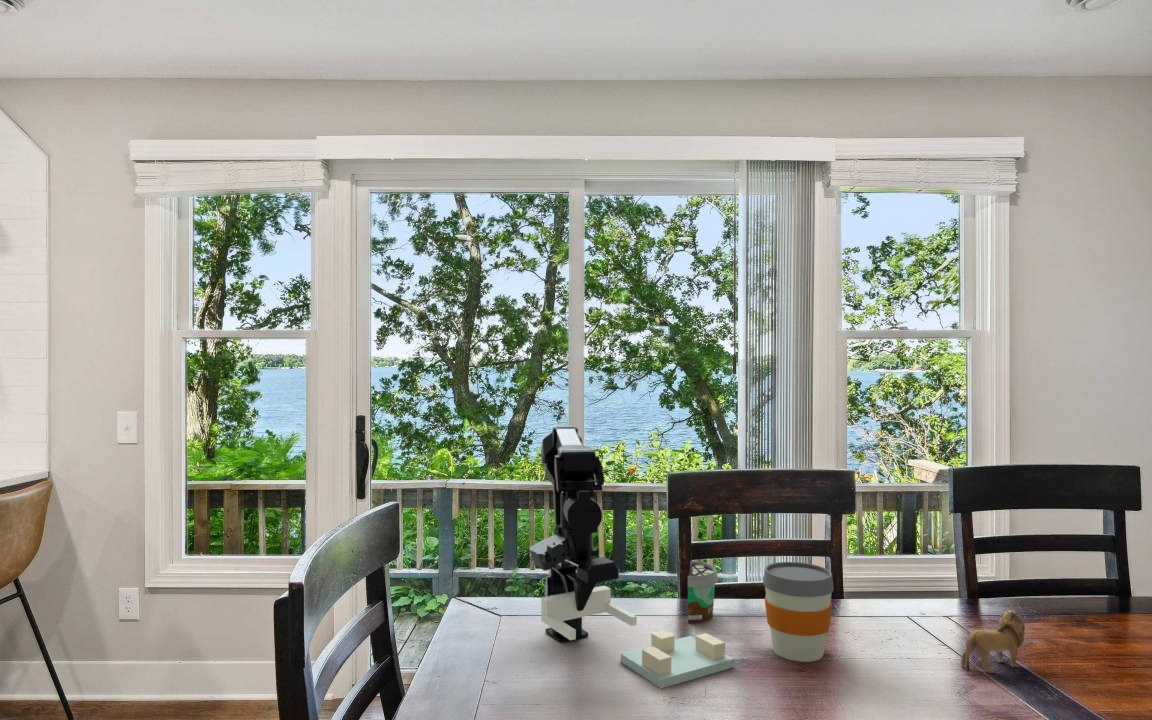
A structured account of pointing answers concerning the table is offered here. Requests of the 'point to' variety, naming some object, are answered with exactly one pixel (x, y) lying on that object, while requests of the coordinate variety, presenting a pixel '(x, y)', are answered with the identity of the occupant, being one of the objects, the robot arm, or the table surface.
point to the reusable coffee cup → (798, 608)
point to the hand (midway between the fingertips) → (576, 608)
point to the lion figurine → (997, 641)
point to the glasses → (565, 609)
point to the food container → (701, 591)
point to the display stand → (678, 658)
